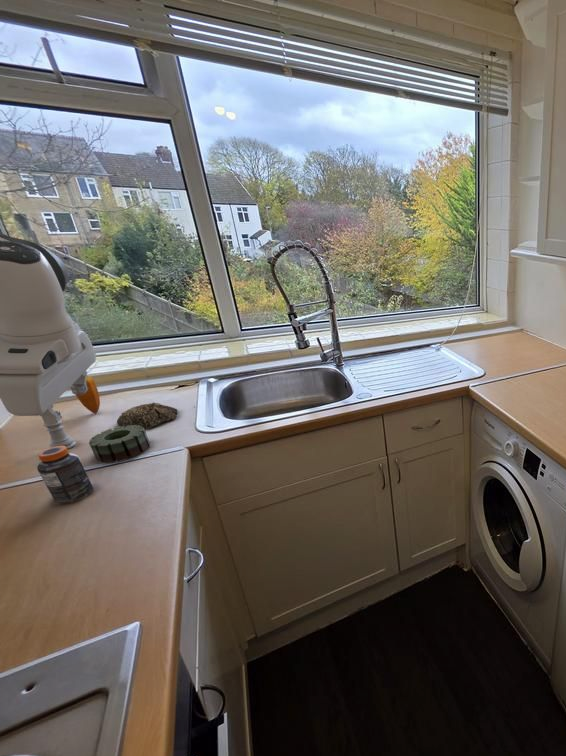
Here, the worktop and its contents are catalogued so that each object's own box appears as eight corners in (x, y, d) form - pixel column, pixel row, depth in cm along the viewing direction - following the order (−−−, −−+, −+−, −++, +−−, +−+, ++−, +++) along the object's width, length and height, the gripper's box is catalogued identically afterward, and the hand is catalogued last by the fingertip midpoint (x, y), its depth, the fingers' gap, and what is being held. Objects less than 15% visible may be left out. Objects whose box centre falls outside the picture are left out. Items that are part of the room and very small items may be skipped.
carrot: (79, 416, 118) (57, 368, 112) (97, 408, 122) (77, 362, 116) (93, 418, 117) (72, 369, 111) (111, 410, 122) (92, 363, 116)
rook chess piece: (51, 447, 103) (37, 419, 100) (76, 440, 106) (63, 413, 103) (52, 454, 100) (37, 425, 97) (77, 447, 103) (64, 419, 100)
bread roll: (111, 426, 113) (104, 410, 111) (157, 407, 124) (151, 392, 122) (145, 433, 110) (138, 417, 108) (189, 413, 121) (184, 398, 119)
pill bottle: (93, 483, 90) (73, 439, 86) (94, 495, 87) (73, 450, 82) (55, 494, 87) (31, 449, 82) (54, 508, 83) (29, 462, 78)
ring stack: (94, 467, 96) (86, 450, 94) (99, 448, 103) (92, 432, 101) (149, 453, 101) (142, 437, 99) (150, 437, 108) (144, 421, 107)
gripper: (51, 315, 77) (74, 377, 83) (-27, 369, 61) (10, 441, 67) (95, 317, 79) (114, 377, 86) (31, 370, 63) (61, 439, 70)
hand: (68, 406), depth 76 cm, fingers open, 8 cm apart
